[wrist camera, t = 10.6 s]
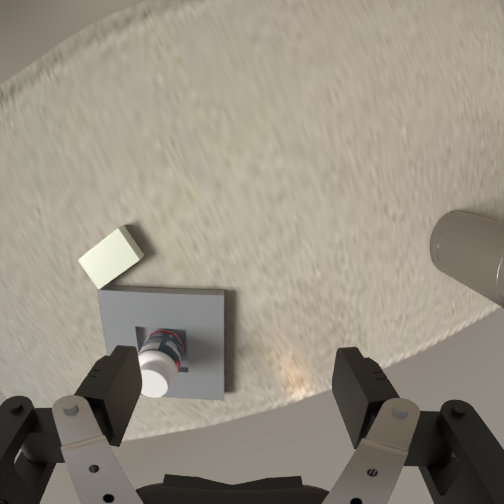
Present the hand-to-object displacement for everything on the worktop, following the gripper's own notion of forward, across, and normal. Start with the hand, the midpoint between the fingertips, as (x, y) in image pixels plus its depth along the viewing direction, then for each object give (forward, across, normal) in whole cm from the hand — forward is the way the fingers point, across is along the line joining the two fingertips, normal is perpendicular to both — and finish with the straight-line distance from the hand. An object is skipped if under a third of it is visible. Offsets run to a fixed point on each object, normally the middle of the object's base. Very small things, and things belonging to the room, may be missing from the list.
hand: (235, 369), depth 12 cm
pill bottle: (+26, +10, +14) cm, 31 cm away
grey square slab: (+27, +10, +14) cm, 32 cm away
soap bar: (+27, +16, +2) cm, 31 cm away
